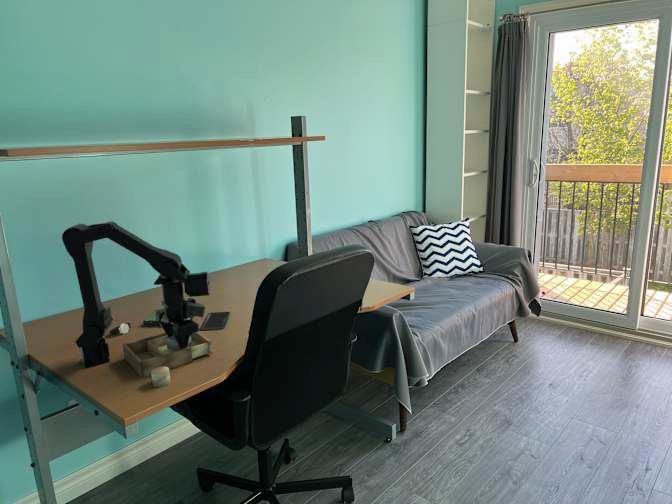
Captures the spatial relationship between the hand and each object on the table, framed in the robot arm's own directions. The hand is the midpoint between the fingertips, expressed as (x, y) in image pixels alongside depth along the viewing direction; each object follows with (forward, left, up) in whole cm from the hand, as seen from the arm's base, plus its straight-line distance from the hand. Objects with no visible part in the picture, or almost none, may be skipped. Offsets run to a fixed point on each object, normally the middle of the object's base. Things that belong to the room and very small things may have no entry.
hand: (179, 348), depth 147 cm
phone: (+20, +17, -2) cm, 26 cm away
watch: (-8, +30, -2) cm, 31 cm away
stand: (-10, -14, -2) cm, 18 cm away
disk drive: (+8, +29, -2) cm, 30 cm away
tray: (0, 0, -1) cm, 1 cm away
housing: (-6, 0, -2) cm, 7 cm away
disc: (0, 0, +1) cm, 1 cm away
